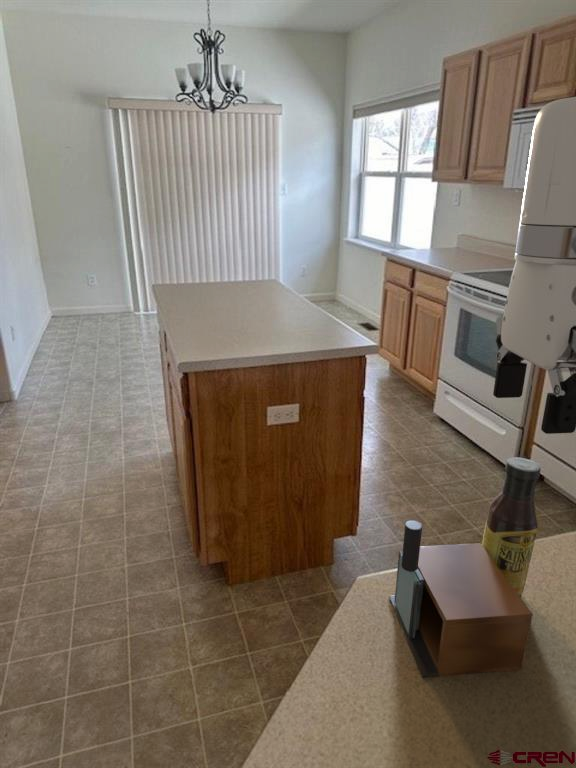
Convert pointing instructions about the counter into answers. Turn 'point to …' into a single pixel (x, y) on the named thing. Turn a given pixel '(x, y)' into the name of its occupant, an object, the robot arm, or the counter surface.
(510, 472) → the sauce bottle
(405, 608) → the glass door
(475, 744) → the counter surface
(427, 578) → the cabinet
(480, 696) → the counter surface
